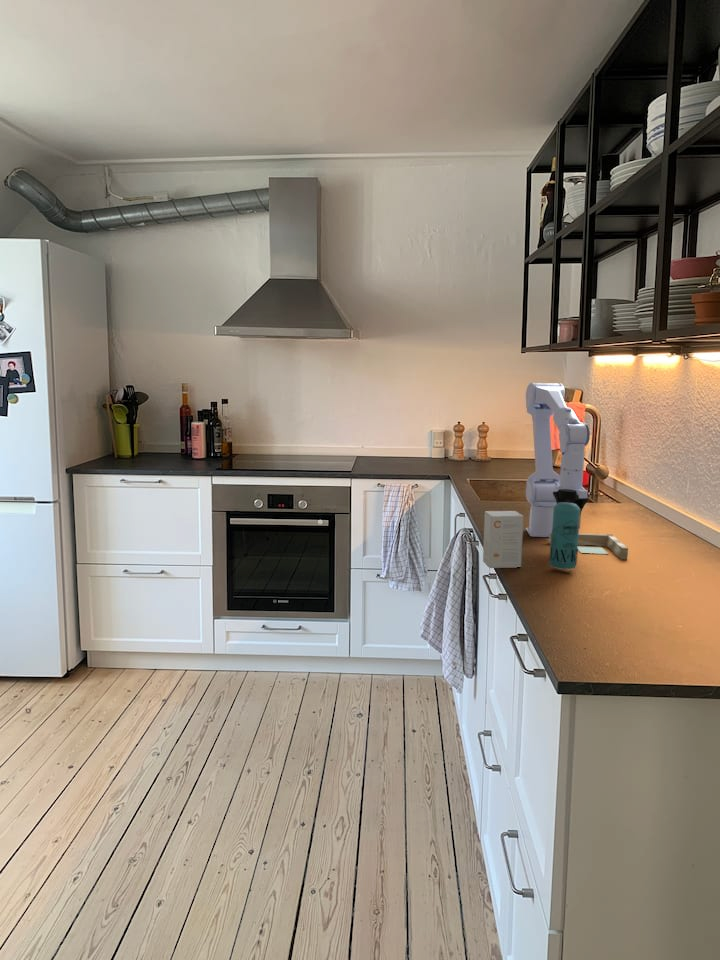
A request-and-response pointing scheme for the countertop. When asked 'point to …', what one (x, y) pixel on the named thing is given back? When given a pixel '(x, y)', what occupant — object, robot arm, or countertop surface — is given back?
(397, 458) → the countertop surface
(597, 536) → the l-shaped wall
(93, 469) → the countertop surface
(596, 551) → the pad
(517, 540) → the small box
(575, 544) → the beverage bottle
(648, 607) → the countertop surface
